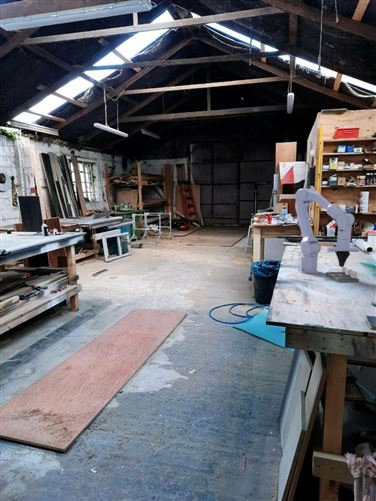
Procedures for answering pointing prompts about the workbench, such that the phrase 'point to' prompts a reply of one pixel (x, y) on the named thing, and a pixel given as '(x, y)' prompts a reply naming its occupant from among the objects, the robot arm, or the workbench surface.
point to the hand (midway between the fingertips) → (341, 266)
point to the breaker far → (343, 269)
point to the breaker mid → (348, 271)
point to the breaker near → (353, 274)
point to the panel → (341, 277)
